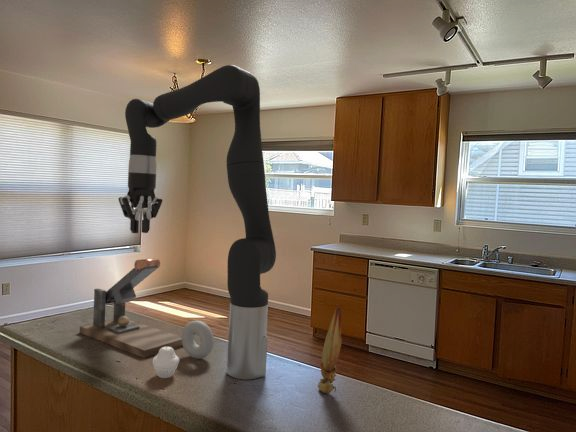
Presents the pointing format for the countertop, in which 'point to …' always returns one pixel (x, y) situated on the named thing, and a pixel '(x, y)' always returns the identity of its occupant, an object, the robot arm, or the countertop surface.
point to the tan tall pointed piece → (331, 353)
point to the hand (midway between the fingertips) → (139, 232)
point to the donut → (204, 335)
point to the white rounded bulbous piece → (165, 362)
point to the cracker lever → (131, 281)
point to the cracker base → (126, 330)
